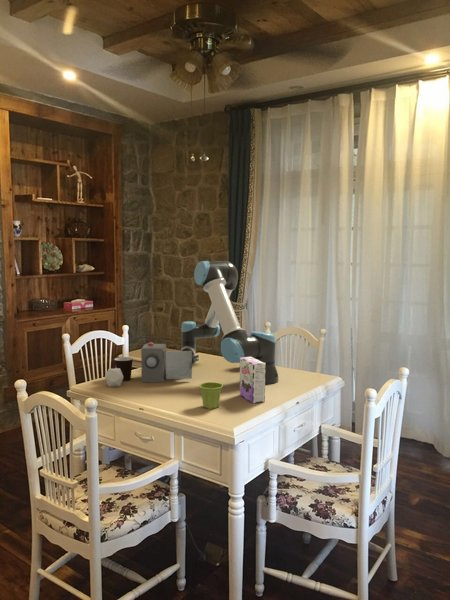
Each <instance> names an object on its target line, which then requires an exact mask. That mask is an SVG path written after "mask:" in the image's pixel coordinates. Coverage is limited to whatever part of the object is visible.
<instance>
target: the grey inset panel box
mask: <svg viewBox="0 0 450 600" xmlns="http://www.w3.org/2000/svg"><path fill="white" fill-rule="evenodd" d="M164 351H167V344H166V343H154V342H151V341H150V342H148V343H144V345H143V346H142V347H141V349H140V355H141V356H140V357H141V368H140V369H141V383H163V382H164V381H165V379H164V359H163V352H164Z"/></svg>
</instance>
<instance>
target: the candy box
mask: <svg viewBox="0 0 450 600" xmlns="http://www.w3.org/2000/svg"><path fill="white" fill-rule="evenodd" d="M265 367H266V363H263V362H261V361H259V360H257V359H255V358H253V357H241V358H240V363H239V396H240V397H242V398H244V399H245V400H247V401H248V402H250V403H251V404H260V403H262V402H263V403H266V402H265V400H266V384H265Z"/></svg>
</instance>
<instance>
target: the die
mask: <svg viewBox="0 0 450 600" xmlns="http://www.w3.org/2000/svg"><path fill="white" fill-rule="evenodd" d="M104 378H105V382H106V384H107V387H109V388H115V387H121V385H122V383H123V381H122V380H123V378H124V377H123V374H122V372H121V370H120V368H108V369H107V371H106V374H105V375H104Z"/></svg>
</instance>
